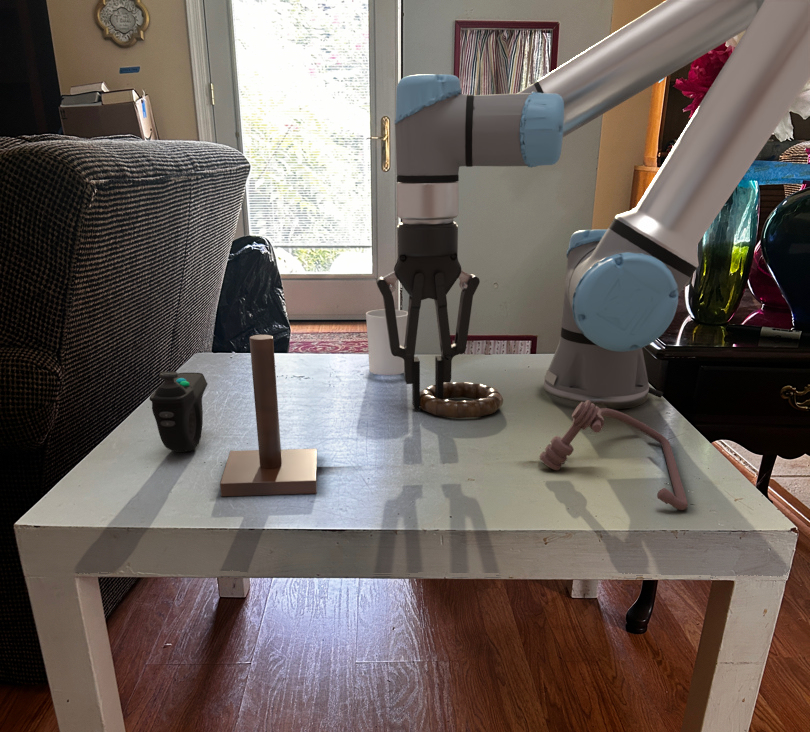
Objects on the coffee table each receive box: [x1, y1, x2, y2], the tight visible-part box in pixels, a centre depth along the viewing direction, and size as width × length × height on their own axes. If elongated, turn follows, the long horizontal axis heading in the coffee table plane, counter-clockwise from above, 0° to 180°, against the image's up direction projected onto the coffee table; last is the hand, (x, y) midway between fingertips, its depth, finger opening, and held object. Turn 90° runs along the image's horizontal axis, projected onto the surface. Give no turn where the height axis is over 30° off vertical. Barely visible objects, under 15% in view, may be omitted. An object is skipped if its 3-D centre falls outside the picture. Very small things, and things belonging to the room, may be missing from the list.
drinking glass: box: [365, 308, 408, 376], centre depth 124 cm, size 7×7×10 cm
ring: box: [420, 381, 504, 419], centre depth 107 cm, size 11×11×2 cm
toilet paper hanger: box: [539, 400, 689, 511], centre depth 89 cm, size 22×8×14 cm
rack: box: [219, 334, 318, 497], centre depth 84 cm, size 10×10×16 cm
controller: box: [149, 370, 208, 452], centre depth 94 cm, size 4×12×10 cm, turn 179°
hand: (427, 405), depth 107 cm, fingers closed on ring, 2 cm apart
